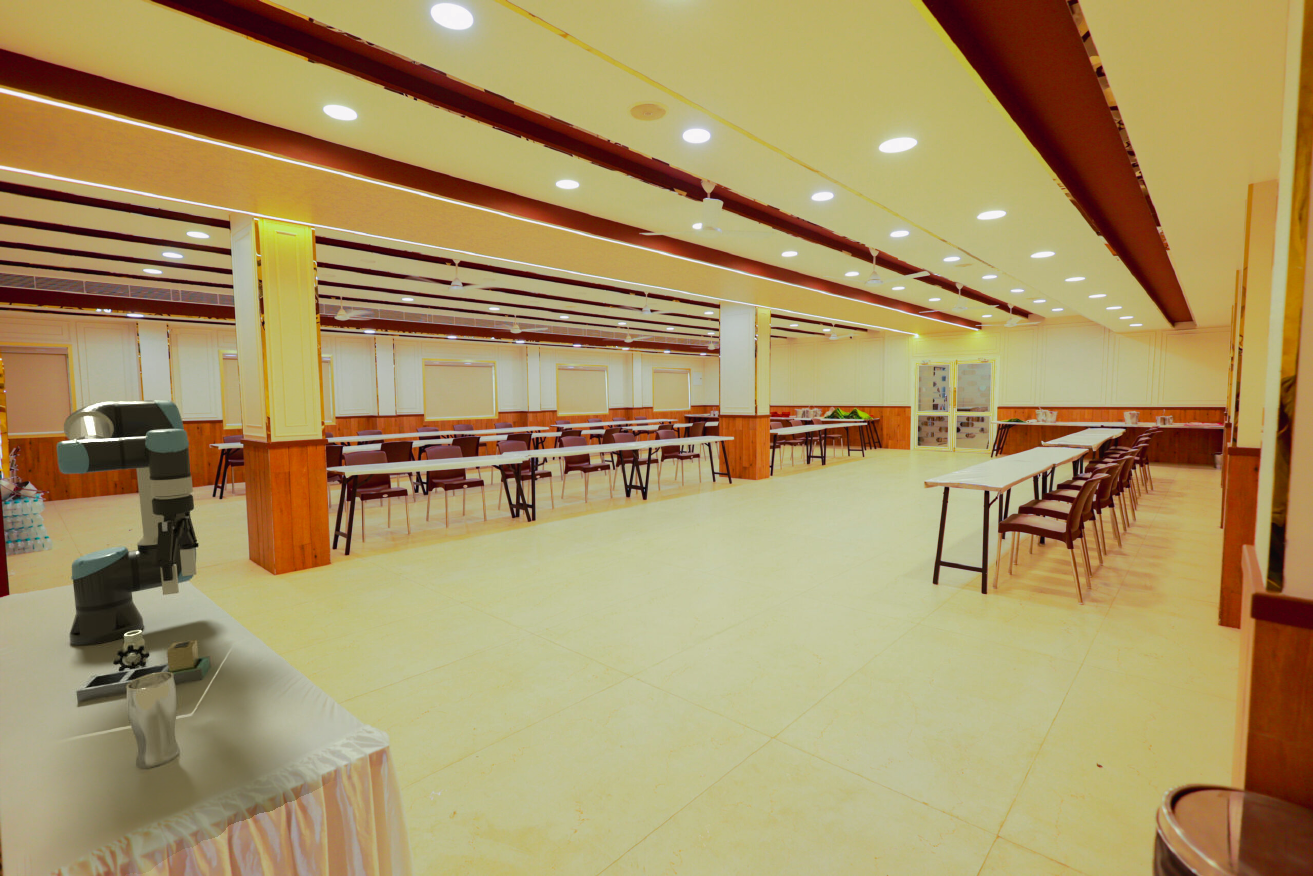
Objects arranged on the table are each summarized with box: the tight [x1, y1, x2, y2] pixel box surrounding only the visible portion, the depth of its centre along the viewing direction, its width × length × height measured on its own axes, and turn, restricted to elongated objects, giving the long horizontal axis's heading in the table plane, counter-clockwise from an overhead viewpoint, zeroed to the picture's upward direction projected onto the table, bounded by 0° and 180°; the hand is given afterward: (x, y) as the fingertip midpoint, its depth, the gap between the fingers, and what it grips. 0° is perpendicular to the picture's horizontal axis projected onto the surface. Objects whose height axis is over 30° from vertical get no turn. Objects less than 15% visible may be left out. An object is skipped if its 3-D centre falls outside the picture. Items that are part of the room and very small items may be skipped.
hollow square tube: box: [166, 639, 199, 673], centre depth 139 cm, size 5×5×8 cm
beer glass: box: [126, 672, 180, 770], centre depth 109 cm, size 7×7×15 cm
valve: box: [112, 629, 151, 672], centre depth 148 cm, size 7×7×12 cm
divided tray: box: [75, 656, 211, 703], centre depth 137 cm, size 7×22×3 cm, turn 114°
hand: (180, 584), depth 141 cm, fingers open, 13 cm apart
